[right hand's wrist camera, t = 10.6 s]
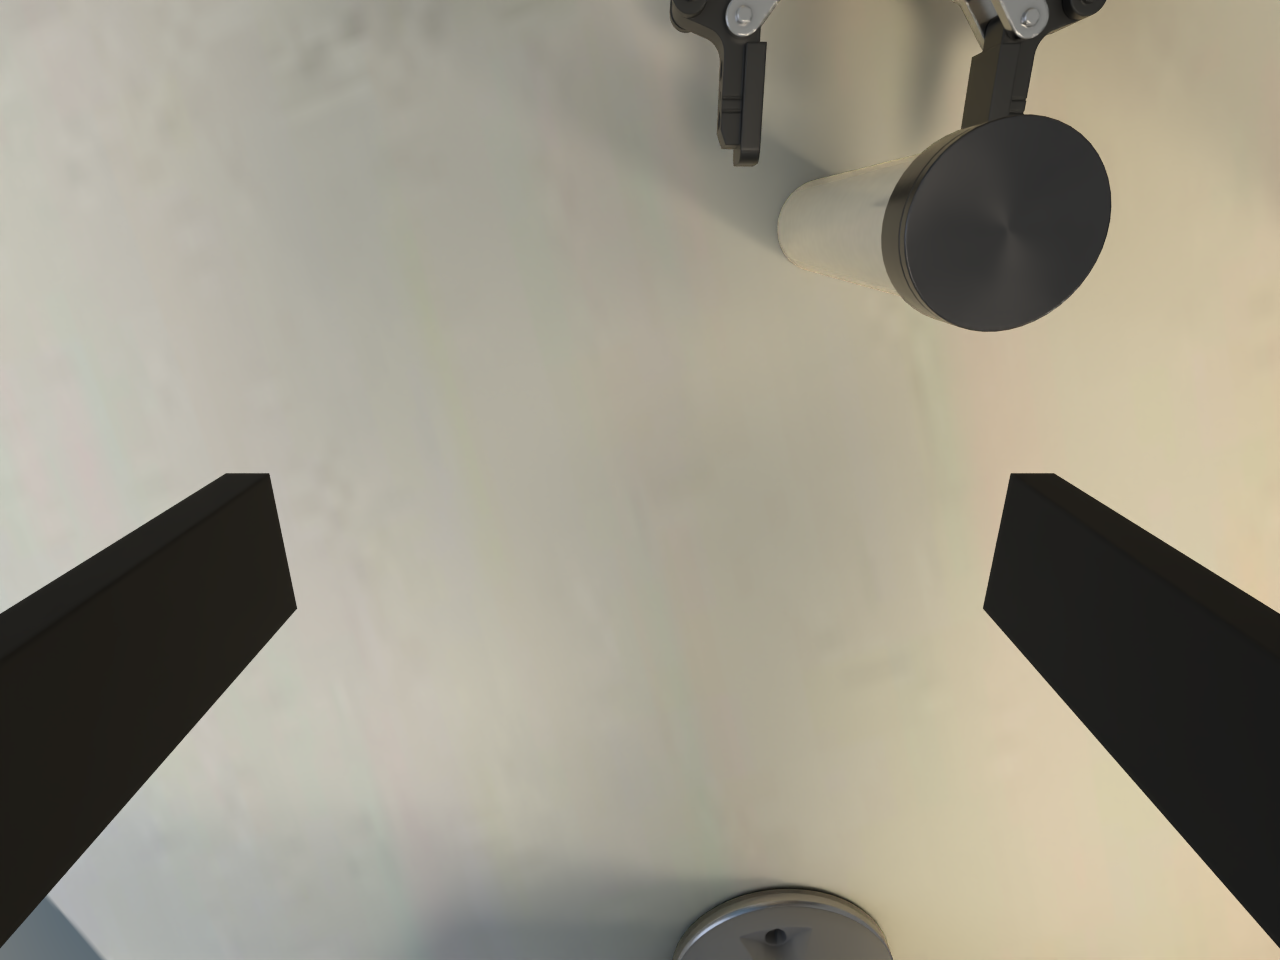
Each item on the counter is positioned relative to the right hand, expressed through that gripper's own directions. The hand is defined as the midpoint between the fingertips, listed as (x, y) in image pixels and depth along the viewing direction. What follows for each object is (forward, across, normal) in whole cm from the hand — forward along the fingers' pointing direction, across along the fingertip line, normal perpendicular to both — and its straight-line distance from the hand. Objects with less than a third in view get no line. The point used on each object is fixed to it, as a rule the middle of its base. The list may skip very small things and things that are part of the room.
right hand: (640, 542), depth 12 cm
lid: (+6, +8, +5) cm, 11 cm away
